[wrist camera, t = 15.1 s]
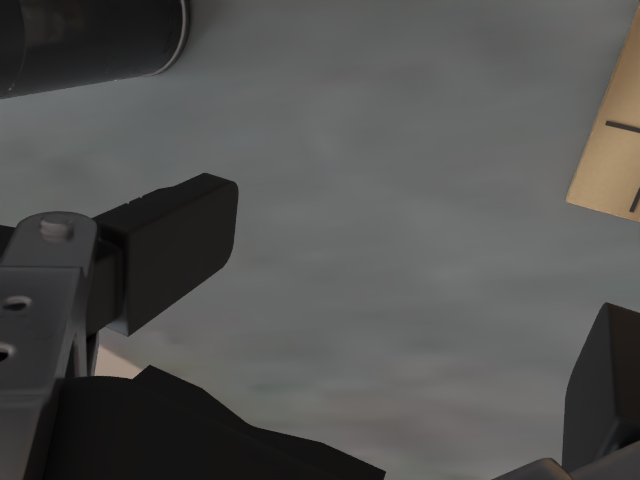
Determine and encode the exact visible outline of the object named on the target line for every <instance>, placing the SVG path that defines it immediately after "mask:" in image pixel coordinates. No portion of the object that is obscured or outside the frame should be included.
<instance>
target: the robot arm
mask: <svg viewBox="0 0 640 480" xmlns="http://www.w3.org/2000/svg"><path fill="white" fill-rule="evenodd" d="M188 31H189V6H188V0H0V99H5V98H11V97H17V96H23V95H29V94H35V93H41V92H47V91H53V90H59V89H65V88H71V87H77V86H83V85H89V84H95V83H101V82H107V81H114V80H121V79H126V78H132V77H147V76H153V75H157V74H160V73H162V72H164V71H165V70H167V69H168V68H170V67H171V66H172V65H173V64H174V63H175V62H176V60H177V59H178V58H179V56H180V54H181V53H182V51H183V49H184V46H185V43H186V40H187V36H188ZM237 204H238V186H237V184H236V183H235V182H233V181H230V180H227V179H224V178H221V177H217V176H214V175H211V174H208V173H203V174H200V175H198V176H196V177H194V178H191V179H189V180H187V181H185V182H183V183H180V184H178V185H176V186H173V187H167V188H161V189H157V190H155V191H153V192H151V193H148V194H146V195H144V196H142V198H140V197H139V198H137V199H135V200H132V201H130V202H129V204H127V203H125V204H123V205H121V206H119V207H116V208H114V209H112V210H109V211H107V212H105V213H103V214H100V215H98V216H96V217H93V218H89V217H87V216H85V215H82V214H78V213H73V212H64V211H55V212H45V213H39V214H35V215H32V216H29V217H27V218H25V219H23V220H22V221H20V222H19V223H18V225H17V226H16V228H14V227H8V226H2V225H0V480H384V477H385V474H386V471H383V470H381V469H379V468H377V467H375V466H372V465H370V464H368V463H366V462H363V461H361V460H359V459H357V458H355V457H352V456H350V455H348V454H346V453H344V452H341V451H339V450H337V449H335V448H333V447H330V446H328V445H326V444H324V443H321V442H317V441H313V440H308V439H304V438H300V437H295V436H291V435H287V434H283V433H278V432H274V431H270V430H265V429H261V428H257V427H254V426H251V425H249V424H248V423H246V422H245V421H243V420H242V419H241V418H240V417H238V416H237V415H236V414H234V413H233V412H232V411H231V410H229V409H228V408H227V407H225V406H224V405H223V404H221V403H220V402H219V401H218V400H216V399H215V398H214V397H212V396H211V395H210V394H209V393H207V392H206V391H205V390H203V389H202V388H200V387H198V386H196V385H193V384H191V383H189V382H187V381H185V380H182V379H180V378H178V377H176V376H173V375H171V374H169V373H167V372H165V371H162V370H160V369H158V368H156V367H154V366H151V365H149V366H148V367H147V368H145V369H144V370H143V371H142V372H140V373H139V374H138V375H137V376H136V377H134V378H133V379H128V378H121V377H111V376H94V374H95V367H96V360H97V354H98V347H99V330H100V329H102V328H103V327H107V328H109V329H111V330H114V331H116V332H118V333H120V334H123V335H125V336H127V337H129V336H130V335H131V334H133V333H134V332H135V331H137V330H138V329H140V328H141V327H142V326H144V325H145V324H146V323H148V322H149V321H150V320H152V319H153V318H155V317H156V316H157V315H159V314H160V313H161V312H163V311H164V310H165V309H167V308H168V307H170V306H171V305H172V304H174V303H175V302H176V301H178V300H179V299H180V298H182V297H183V296H185V295H186V294H187V293H189V292H190V291H191V290H193V289H194V288H196V287H197V286H198V285H200V284H201V283H202V282H204V281H205V280H206V279H208V278H209V277H211V276H212V275H213V274H215V273H216V272H217V271H219V270H220V269H221V268H223V266H224V265H225V264H226V263H227V261H228V259H229V257H230V255H231V252H232V249H233V243H234V234H235V224H236V214H237ZM492 480H640V313H638V312H635V311H632V310H629V309H626V308H623V307H619V306H616V305H613V304H610V303H607V302H606V303H604V304H603V306H602V307H601V309H600V311H599V313H598V315H597V317H596V319H595V322H594V324H593V326H592V328H591V331H590V333H589V335H588V337H587V340H586V342H585V344H584V346H583V348H582V351H581V353H580V355H579V357H578V360H577V362H576V364H575V366H574V369H573V371H572V374H571V377H570V380H569V383H568V387H567V391H566V397H565V414H564V433H563V451H562V467H561V466H560V465H559V464H558V463H557V462H556V461H555V460H554V459H552V458H542V459H539V460H536V461H534V462H532V463H529V464H527V465H525V466H522V467H520V468H518V469H515V470H513V471H511V472H508V473H506V474H504V475H501V476H499V477H496V478H494V479H492Z"/></svg>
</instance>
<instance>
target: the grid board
mask: <svg viewBox="0 0 640 480" xmlns="http://www.w3.org/2000/svg"><path fill="white" fill-rule="evenodd" d="M566 202H568V203H572V204H576V205H579V206H583V207H586V208H590V209H594V210H597V211H601V212H604V213H608V214H611V215H615V216H619V217H622V218H626V219H629V220H633V221H637V222H640V2H639V5H638V7H637V10H636V12H635V15H634V18H633V20H632V23H631V26H630V28H629V31H628V34H627V36H626V39H625V42H624V44H623V47H622V50H621V52H620V55H619V58H618V60H617V63H616V66H615V68H614V71H613V74H612V76H611V79H610V81H609V84H608V87H607V89H606V92H605V95H604V97H603V100H602V103H601V105H600V108H599V111H598V113H597V116H596V119H595V121H594V124H593V127H592V129H591V132H590V135H589V137H588V140H587V142H586V145H585V148H584V150H583V153H582V156H581V158H580V161H579V164H578V166H577V169H576V172H575V174H574V177H573V180H572V182H571V185H570V188H569V190H568V193H567V196H566Z"/></svg>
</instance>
